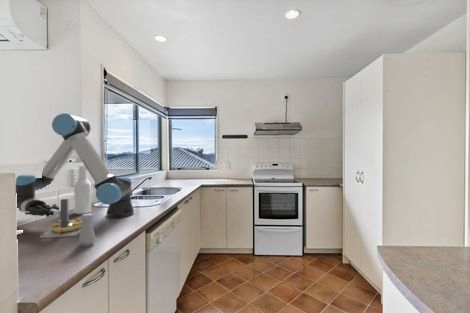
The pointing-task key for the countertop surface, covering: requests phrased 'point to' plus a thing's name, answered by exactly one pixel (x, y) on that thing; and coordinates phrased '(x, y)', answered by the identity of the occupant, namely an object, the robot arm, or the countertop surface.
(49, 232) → the flange plate
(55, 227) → the grey and tan stand
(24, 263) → the countertop surface
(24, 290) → the countertop surface
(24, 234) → the countertop surface
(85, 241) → the salt shaker
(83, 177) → the alcohol
